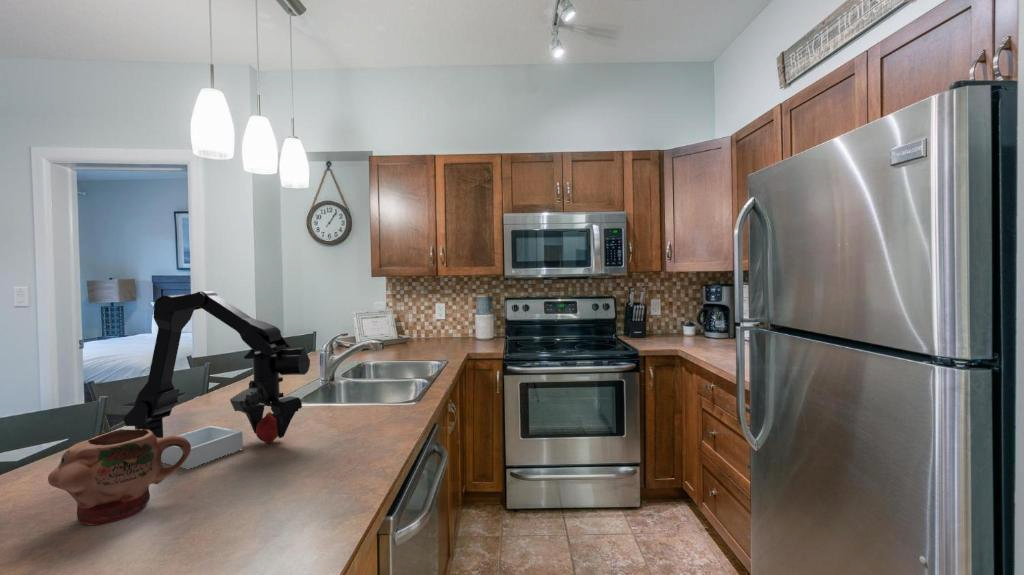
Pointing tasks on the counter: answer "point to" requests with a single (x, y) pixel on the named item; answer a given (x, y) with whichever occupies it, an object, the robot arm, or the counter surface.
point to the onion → (267, 429)
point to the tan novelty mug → (115, 473)
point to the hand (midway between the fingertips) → (268, 435)
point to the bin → (205, 446)
